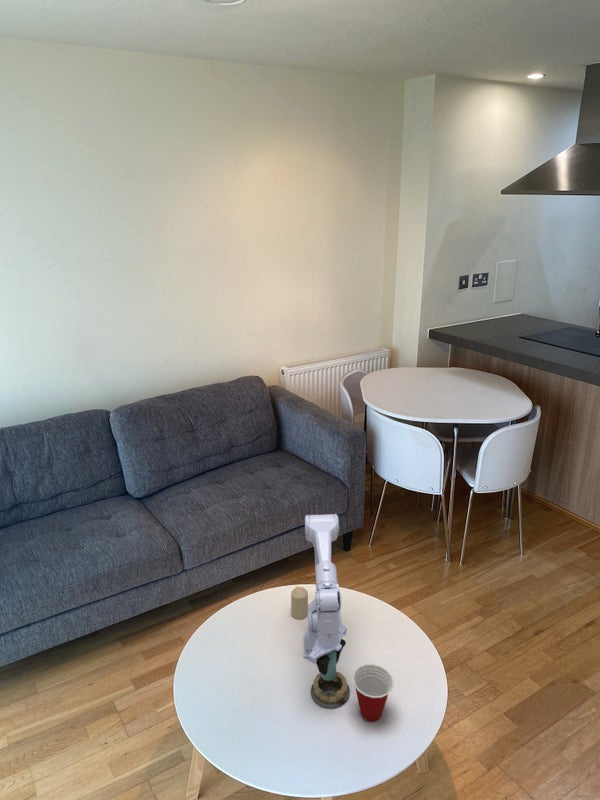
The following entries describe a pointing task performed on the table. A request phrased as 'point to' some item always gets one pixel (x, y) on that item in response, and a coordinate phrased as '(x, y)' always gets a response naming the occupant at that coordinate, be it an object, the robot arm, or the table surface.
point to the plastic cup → (372, 690)
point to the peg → (330, 666)
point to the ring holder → (330, 691)
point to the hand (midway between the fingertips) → (328, 667)
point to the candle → (299, 603)
